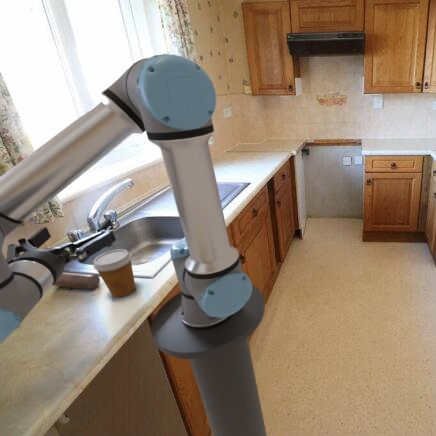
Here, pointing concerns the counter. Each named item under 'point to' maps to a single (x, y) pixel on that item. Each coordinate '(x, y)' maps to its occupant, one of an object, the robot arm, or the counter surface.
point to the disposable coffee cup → (116, 271)
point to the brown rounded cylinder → (78, 281)
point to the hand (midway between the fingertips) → (79, 227)
